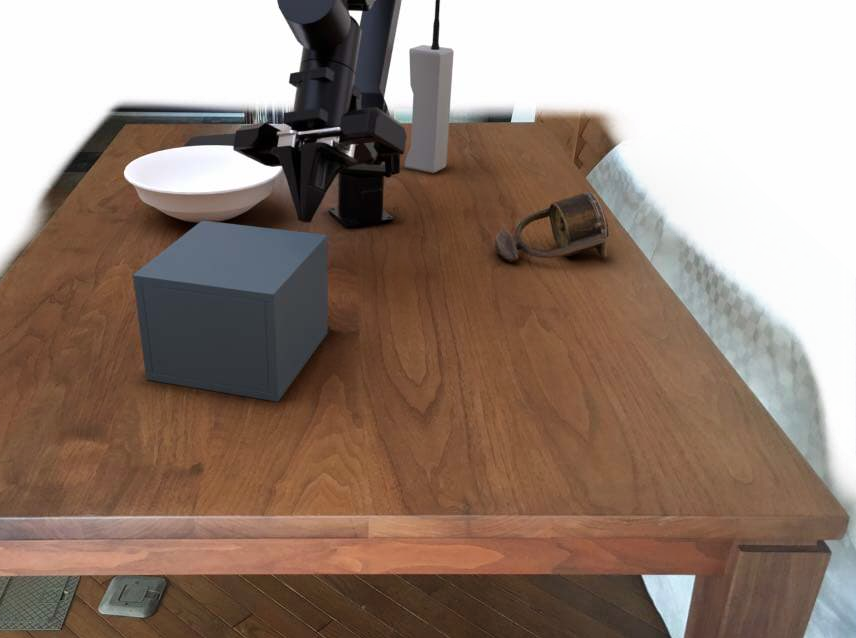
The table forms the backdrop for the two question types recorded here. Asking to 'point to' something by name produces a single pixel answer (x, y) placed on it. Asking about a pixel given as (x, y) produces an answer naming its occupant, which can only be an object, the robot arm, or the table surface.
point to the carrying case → (212, 140)
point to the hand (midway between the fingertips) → (304, 221)
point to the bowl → (201, 182)
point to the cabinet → (233, 308)
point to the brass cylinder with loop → (562, 229)
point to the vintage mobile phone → (430, 103)
